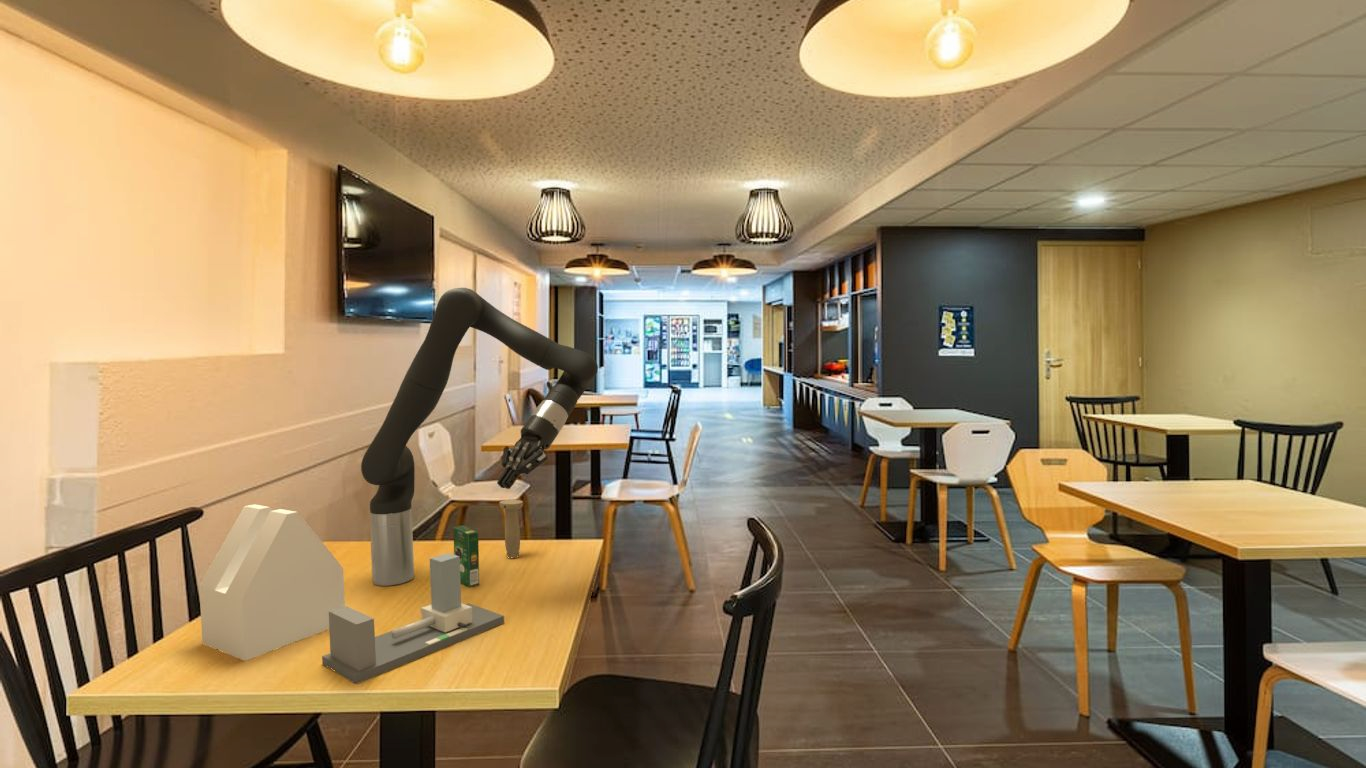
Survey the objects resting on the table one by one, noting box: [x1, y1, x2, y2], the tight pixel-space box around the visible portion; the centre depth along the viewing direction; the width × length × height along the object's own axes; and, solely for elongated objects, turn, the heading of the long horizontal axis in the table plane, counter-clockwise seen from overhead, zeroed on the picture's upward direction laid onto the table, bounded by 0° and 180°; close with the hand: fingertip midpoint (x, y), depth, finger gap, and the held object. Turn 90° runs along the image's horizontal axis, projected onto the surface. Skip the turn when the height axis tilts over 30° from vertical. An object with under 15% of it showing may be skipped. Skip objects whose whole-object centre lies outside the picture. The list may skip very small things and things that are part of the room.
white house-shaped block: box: [198, 503, 346, 662], centre depth 130 cm, size 19×15×25 cm
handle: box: [499, 499, 524, 559], centre depth 177 cm, size 5×6×15 cm
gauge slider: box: [391, 552, 472, 639], centre depth 126 cm, size 10×14×13 cm
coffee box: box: [452, 525, 480, 588], centre depth 157 cm, size 8×3×13 cm, turn 44°
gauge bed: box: [321, 602, 505, 685], centre depth 125 cm, size 12×30×10 cm, turn 143°
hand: (502, 486), depth 142 cm, fingers closed
